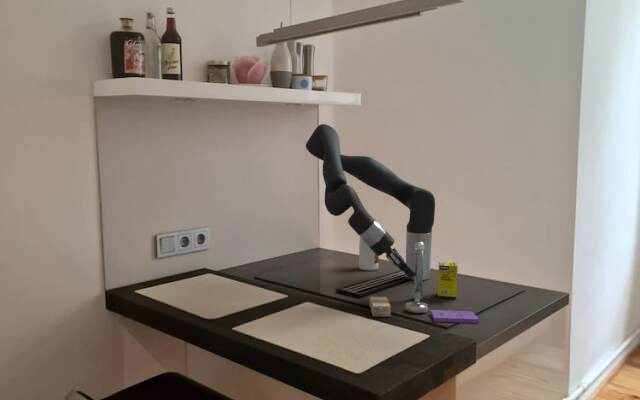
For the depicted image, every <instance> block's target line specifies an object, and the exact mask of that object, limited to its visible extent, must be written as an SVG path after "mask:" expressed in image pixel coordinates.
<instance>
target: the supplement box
mask: <svg viewBox="0 0 640 400" xmlns="http://www.w3.org/2000/svg"><path fill="white" fill-rule="evenodd" d="M437 273H438V274H437V275H438V276H437V277H438V278H437V294H436V295H437V298H438V299H446V300H447V299H448V300H449V299H450V300H456V299H457V286H458V285H457V284H458V283H457V282H458V281H457V280H458V262H451V261H438V272H437Z"/></svg>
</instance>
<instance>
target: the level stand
mask: <svg viewBox="0 0 640 400" xmlns="http://www.w3.org/2000/svg"><path fill="white" fill-rule="evenodd" d="M369 308H370V311H371V314H372V317H380V318H381V317H389V318H391V310H392V309H391V308H392V307H391V303H390V302H389V300H388V298H387V296H369Z"/></svg>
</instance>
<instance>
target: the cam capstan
mask: <svg viewBox="0 0 640 400" xmlns="http://www.w3.org/2000/svg"><path fill="white" fill-rule="evenodd" d="M424 248H425V245H424V243H422V242H417V243H416V244H415V277H414V279H413V281H414V282H413V283H414V284H413V296H414V301H409V302H406V303H405V311H407V312H409V313H414V314H425V313H427V312H428V311H429V304H427V303H425V302H424V301H423V302H422V301H421V298H422V297H423V256H424Z"/></svg>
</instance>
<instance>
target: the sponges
mask: <svg viewBox="0 0 640 400" xmlns="http://www.w3.org/2000/svg"><path fill="white" fill-rule="evenodd" d="M430 316H431V318H432V320H433V321H434V323H435V322H437V323H462V324H463V323H464V324H465V323H466V324H470V323H471V324H478V323H480V318H479V317H478V316H477V315H476V314H475V313H474V311H464V310H460V311H459V310H444V309H443V310H441V309H440V310H438V309H430Z"/></svg>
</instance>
